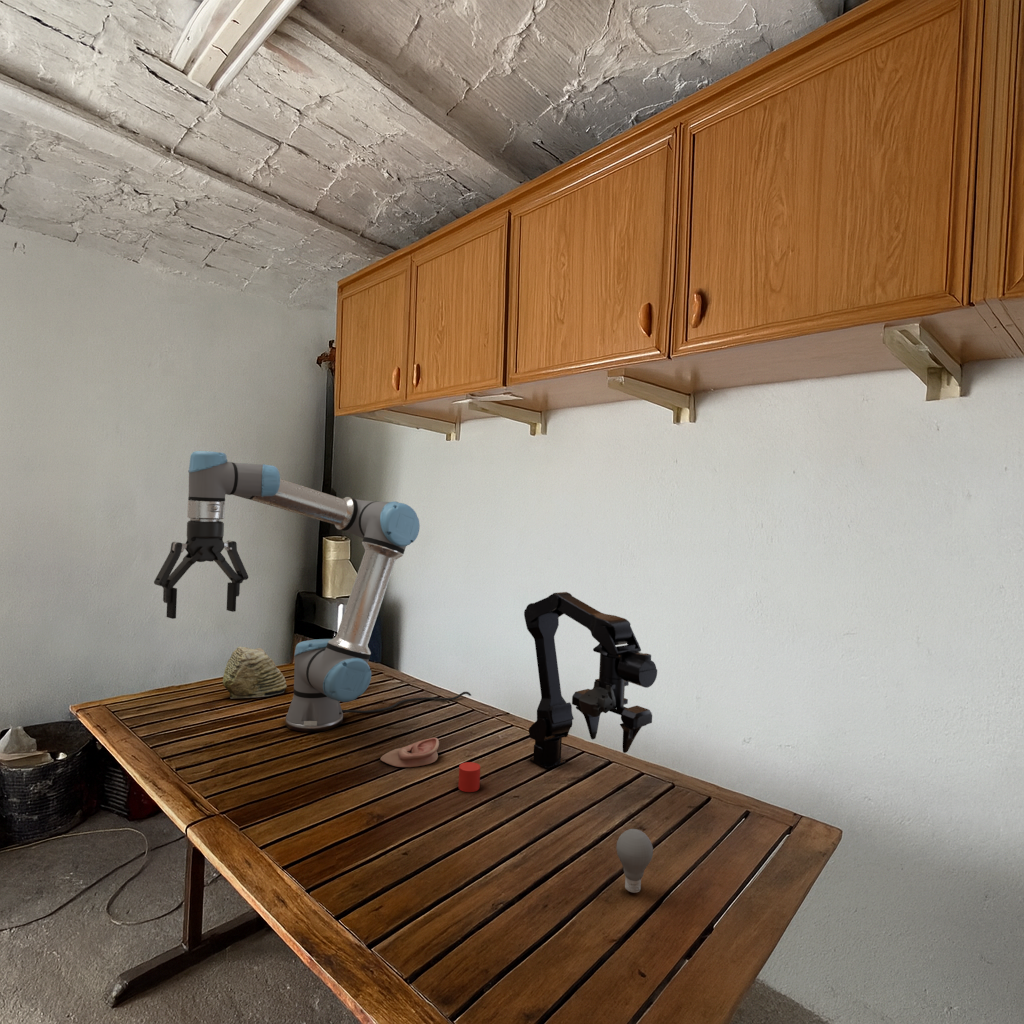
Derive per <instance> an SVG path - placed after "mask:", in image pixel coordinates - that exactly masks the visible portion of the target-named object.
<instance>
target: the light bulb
mask: <svg viewBox="0 0 1024 1024" xmlns="http://www.w3.org/2000/svg"><path fill="white" fill-rule="evenodd" d="M615 849H616V854H617V857H618V859H619V861H620V863H621V865H622V867H623V873H624V874H623V875H624V876H625V878H624V888H625V890H627V891H628V892H630V893H634V894H635V893H639V892H640V891H641V889H642V887H641V886H642V879H643V877H644V875H645V871H646V868H647V867H648V866H649V864H650V863H651V861H652V859H653V855H654V847H653V843H652V841H651V838H649V836H648V835H647V834H646V833H645V832H643V831H642V830H641V829H636V828H629V829H627V830H625V831H623V832H622V833H621V834H620V835H619V837H618V839H617V841H616V847H615Z"/></svg>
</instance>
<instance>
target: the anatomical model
mask: <svg viewBox="0 0 1024 1024" xmlns="http://www.w3.org/2000/svg"><path fill="white" fill-rule="evenodd" d="M439 747H440V741H439V739H438V737H430V738H426V739H422V740H419V741H416V742H414V743H411V744H409V745H406V746H403V747H398V748H395V749H392V750H389V751H388V752H386V753H385V754H383V755H382V756H381V757H380V759H379V760H380V761H381V762H383V763H384V764H387V765H390V766H392V767H397V768H413V767H420V766H425V765H431V764H432V763H435V762H436V761H437V760H438V758H439V754H438V752H437V751H438V749H439Z"/></svg>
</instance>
